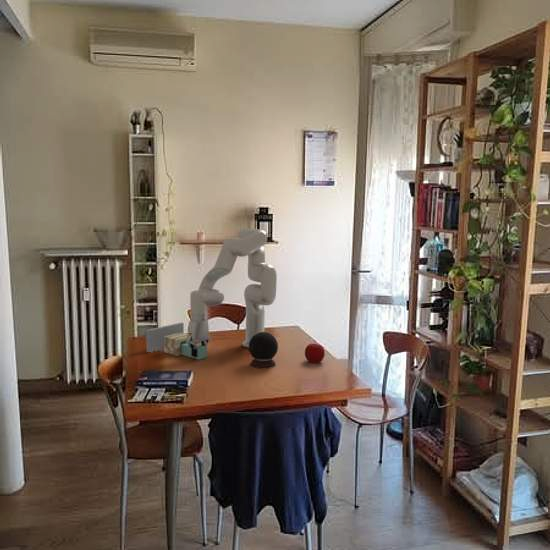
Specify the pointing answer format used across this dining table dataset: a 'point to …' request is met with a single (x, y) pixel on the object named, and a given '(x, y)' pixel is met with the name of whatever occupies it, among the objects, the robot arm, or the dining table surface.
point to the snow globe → (263, 350)
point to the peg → (186, 350)
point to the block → (174, 343)
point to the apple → (314, 353)
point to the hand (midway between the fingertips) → (198, 354)
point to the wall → (161, 336)
